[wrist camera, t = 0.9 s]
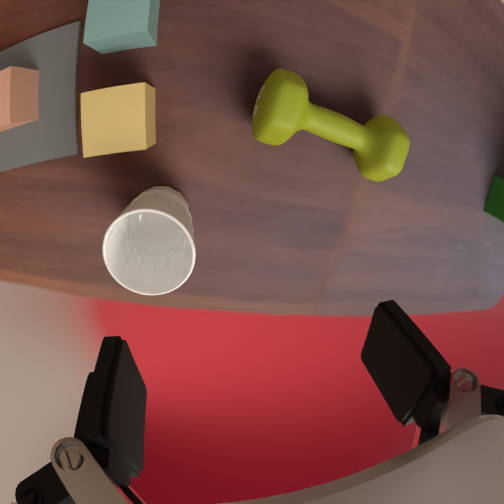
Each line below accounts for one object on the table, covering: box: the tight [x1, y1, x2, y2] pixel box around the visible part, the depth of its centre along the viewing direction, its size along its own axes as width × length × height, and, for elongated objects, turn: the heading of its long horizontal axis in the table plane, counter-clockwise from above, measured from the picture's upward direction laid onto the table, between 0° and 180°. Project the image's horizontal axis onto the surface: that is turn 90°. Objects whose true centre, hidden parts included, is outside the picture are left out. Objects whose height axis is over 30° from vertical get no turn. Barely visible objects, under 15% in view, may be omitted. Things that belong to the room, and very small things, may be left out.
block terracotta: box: [0, 66, 39, 132], centre depth 18 cm, size 6×6×6 cm
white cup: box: [102, 186, 195, 295], centre depth 26 cm, size 8×8×10 cm
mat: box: [0, 21, 82, 172], centre depth 20 cm, size 16×16×1 cm
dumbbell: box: [252, 68, 410, 181], centre depth 26 cm, size 16×8×7 cm, turn 73°
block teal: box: [83, 0, 160, 54], centre depth 18 cm, size 6×6×6 cm
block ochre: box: [81, 82, 156, 158], centre depth 23 cm, size 6×6×6 cm
